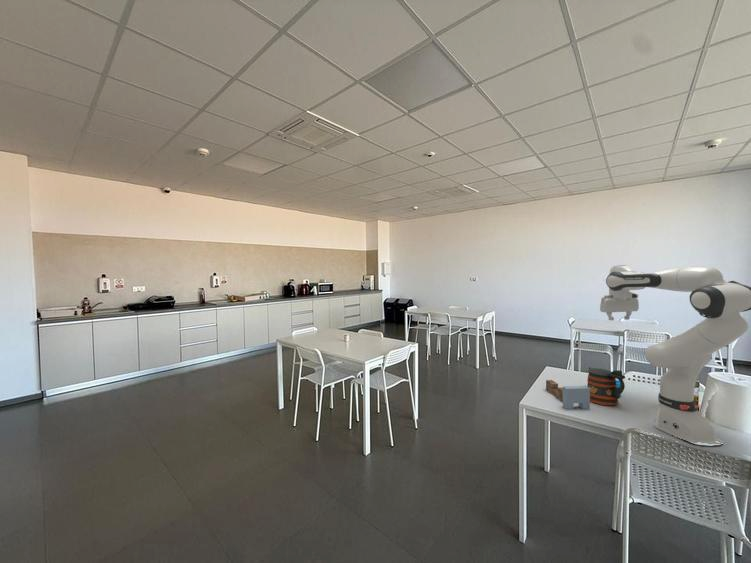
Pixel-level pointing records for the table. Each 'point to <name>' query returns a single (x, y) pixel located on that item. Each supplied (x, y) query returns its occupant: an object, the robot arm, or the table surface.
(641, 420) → the table surface
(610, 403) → the beer stein
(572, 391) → the light blue block
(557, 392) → the walnut rail
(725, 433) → the table surface
